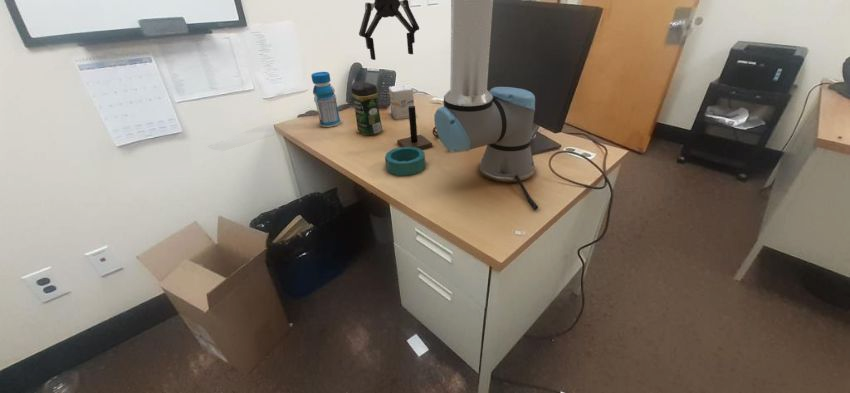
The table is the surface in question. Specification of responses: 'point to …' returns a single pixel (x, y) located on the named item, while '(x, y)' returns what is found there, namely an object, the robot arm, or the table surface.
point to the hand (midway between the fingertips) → (392, 56)
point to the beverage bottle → (325, 99)
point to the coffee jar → (366, 108)
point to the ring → (405, 168)
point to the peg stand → (414, 134)
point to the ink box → (401, 100)
